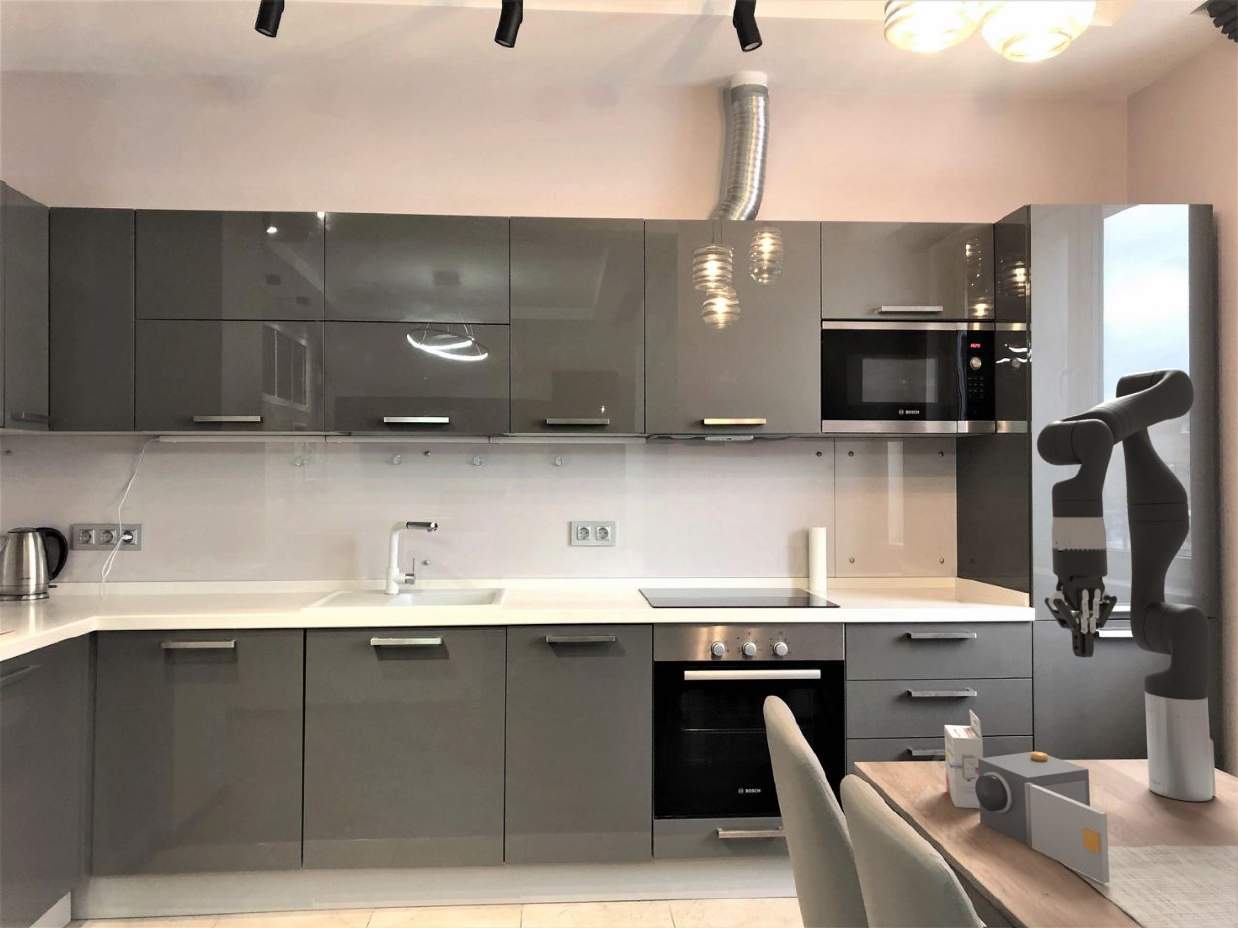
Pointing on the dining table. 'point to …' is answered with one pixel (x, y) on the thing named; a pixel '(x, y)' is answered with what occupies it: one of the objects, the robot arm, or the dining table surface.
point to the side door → (1067, 831)
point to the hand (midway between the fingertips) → (1083, 656)
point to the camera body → (1006, 787)
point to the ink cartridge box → (963, 762)
